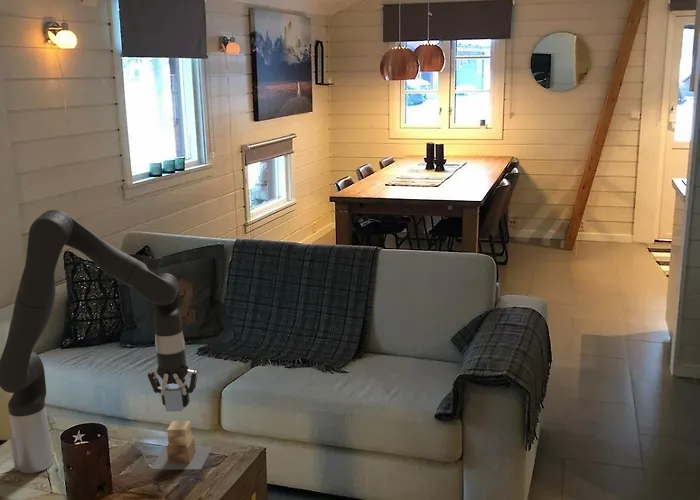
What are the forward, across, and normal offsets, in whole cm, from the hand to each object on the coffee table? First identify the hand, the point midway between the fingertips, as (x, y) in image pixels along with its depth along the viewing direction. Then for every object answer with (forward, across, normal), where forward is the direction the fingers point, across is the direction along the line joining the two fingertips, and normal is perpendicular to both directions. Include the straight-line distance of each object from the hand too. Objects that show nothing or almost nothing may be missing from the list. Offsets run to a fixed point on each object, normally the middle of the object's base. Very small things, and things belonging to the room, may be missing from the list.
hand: (176, 405), depth 204 cm
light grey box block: (+1, 0, 0) cm, 1 cm away
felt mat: (+17, 0, 0) cm, 17 cm away
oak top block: (+11, 0, 0) cm, 11 cm away
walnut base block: (+16, 0, 0) cm, 16 cm away
